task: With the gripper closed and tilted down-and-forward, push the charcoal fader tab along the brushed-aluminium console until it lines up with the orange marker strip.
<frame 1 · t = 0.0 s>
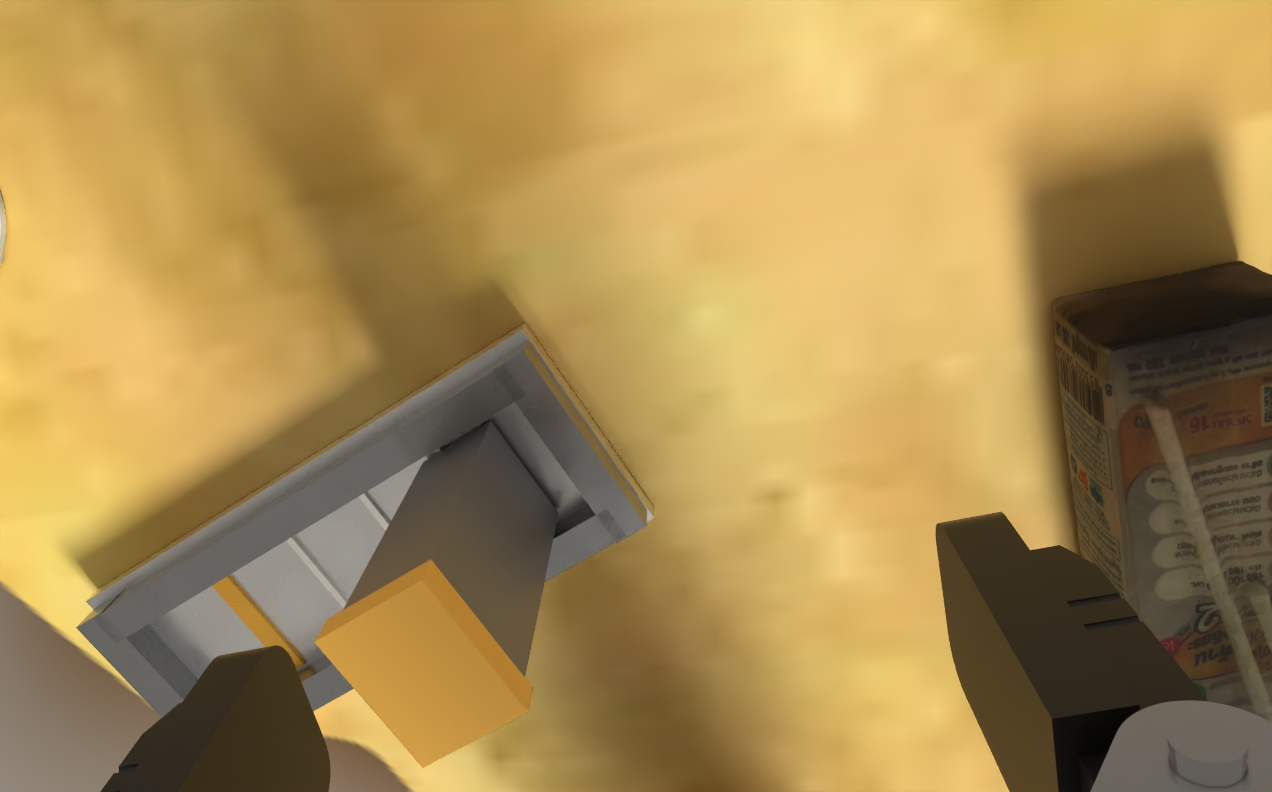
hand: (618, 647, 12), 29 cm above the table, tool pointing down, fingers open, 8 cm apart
fader tab: (462, 566, 36), point 8 cm above the table, slide at -7.0 cm
fader console: (369, 549, 45), on the table
beverage carton: (1155, 479, 44), on the table
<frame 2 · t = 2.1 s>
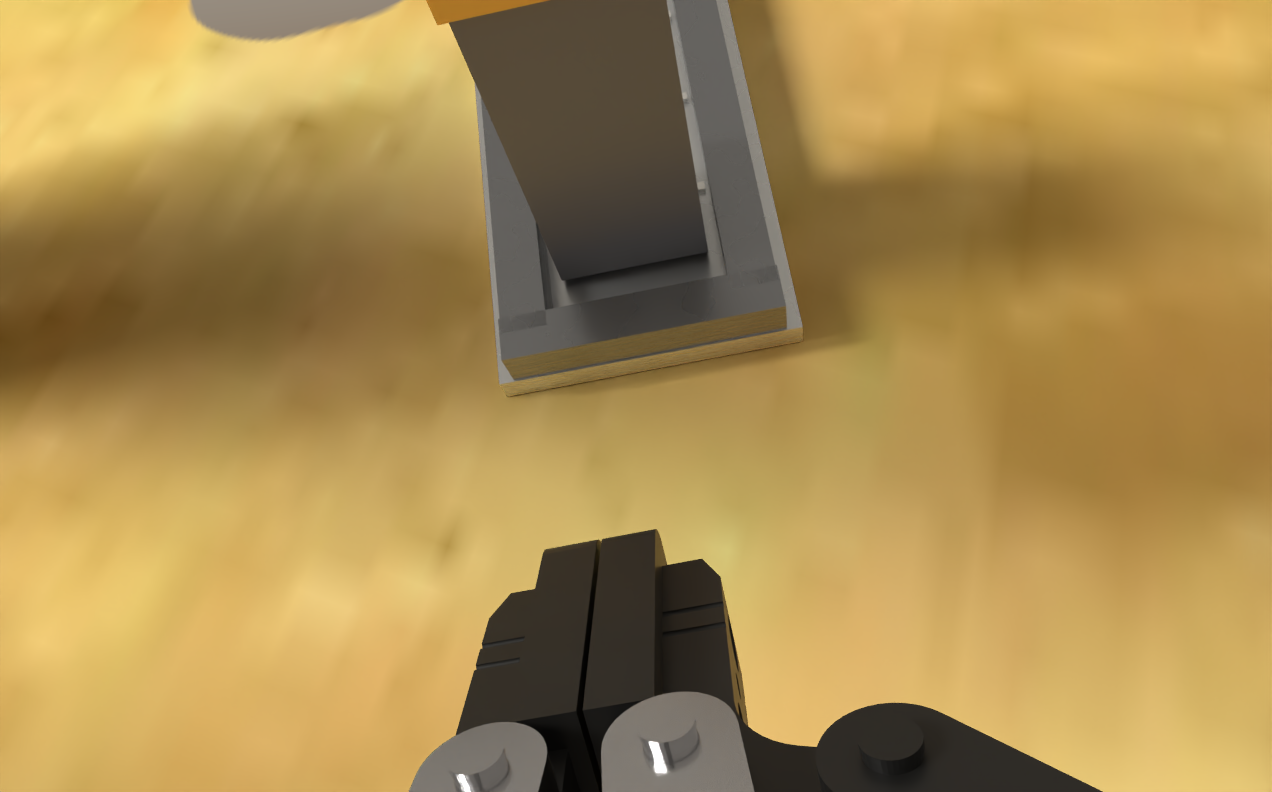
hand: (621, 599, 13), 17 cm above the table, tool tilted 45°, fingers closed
fader tab: (590, 92, 28), point 8 cm above the table, slide at -7.0 cm
fader console: (610, 91, 38), on the table
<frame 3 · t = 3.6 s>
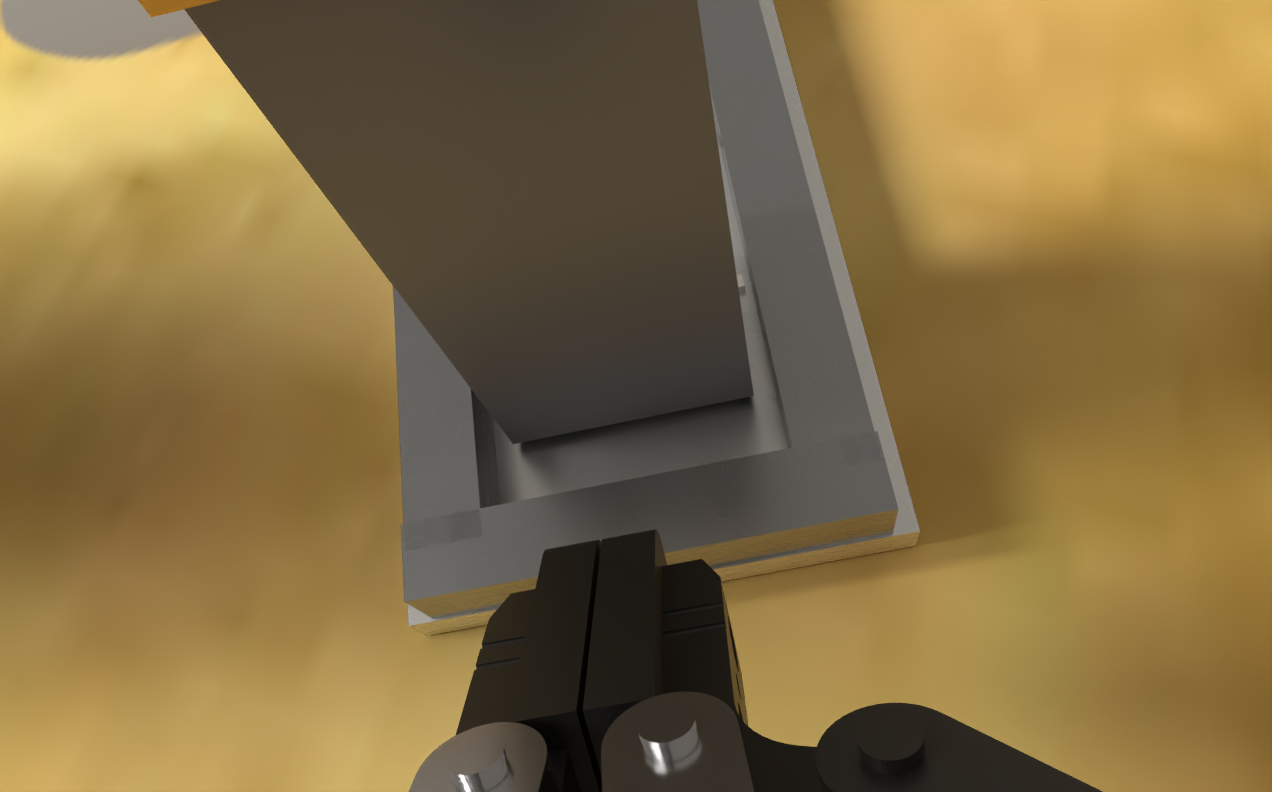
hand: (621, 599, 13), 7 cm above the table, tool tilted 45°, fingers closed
fader tab: (542, 146, 15), point 8 cm above the table, slide at -7.0 cm
fader console: (592, 126, 25), on the table
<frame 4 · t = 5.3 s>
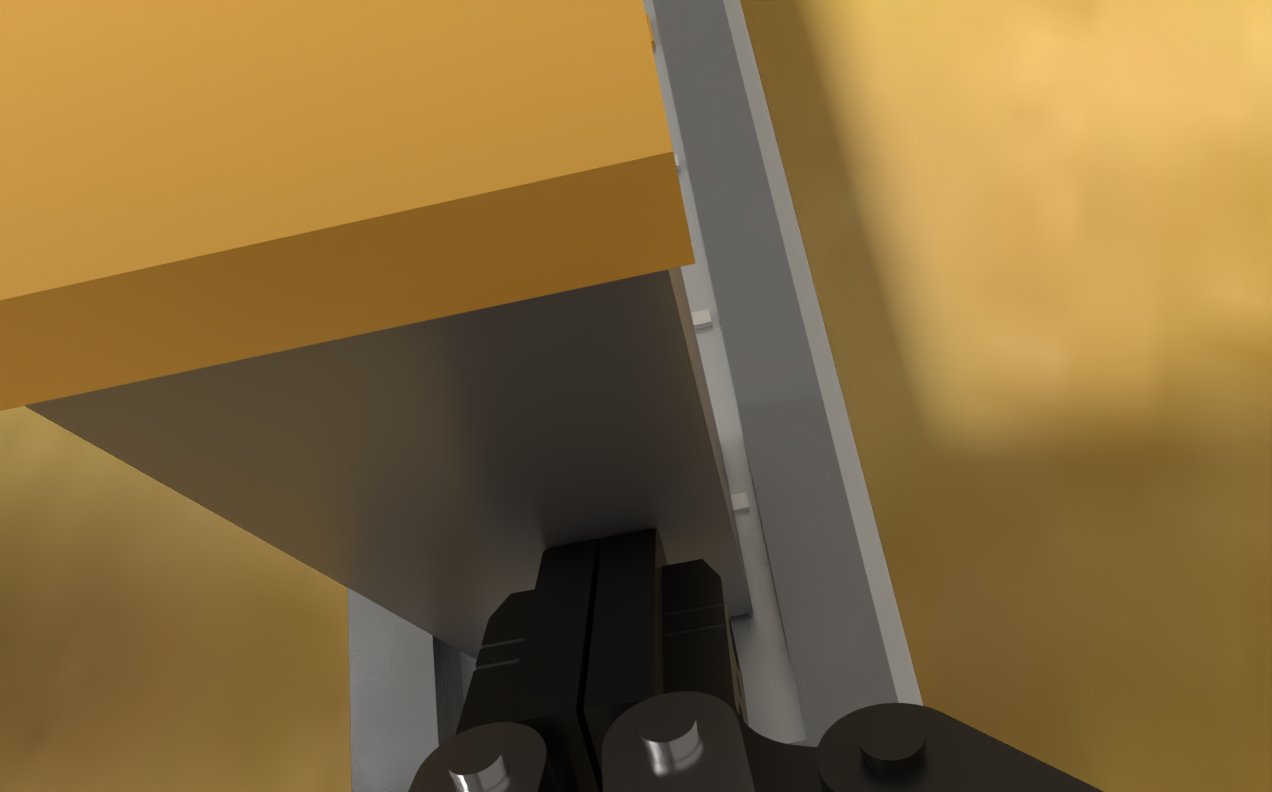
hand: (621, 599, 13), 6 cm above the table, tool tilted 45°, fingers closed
fader tab: (504, 400, 13), point 8 cm above the table, slide at -6.3 cm, touching gripper
fader console: (577, 290, 22), on the table
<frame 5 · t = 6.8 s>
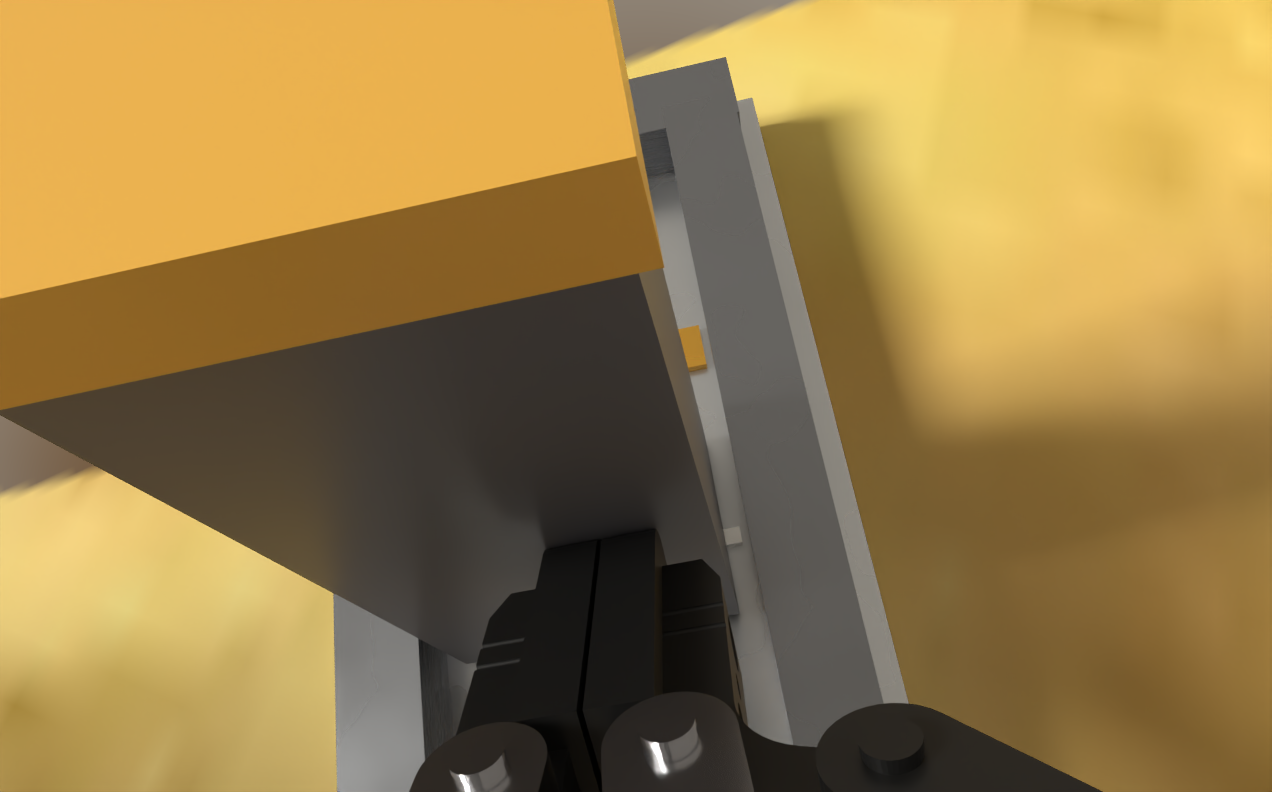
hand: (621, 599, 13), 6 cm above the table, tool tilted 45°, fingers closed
fader tab: (485, 403, 13), point 8 cm above the table, slide at 2.3 cm, touching gripper
fader console: (618, 681, 19), on the table
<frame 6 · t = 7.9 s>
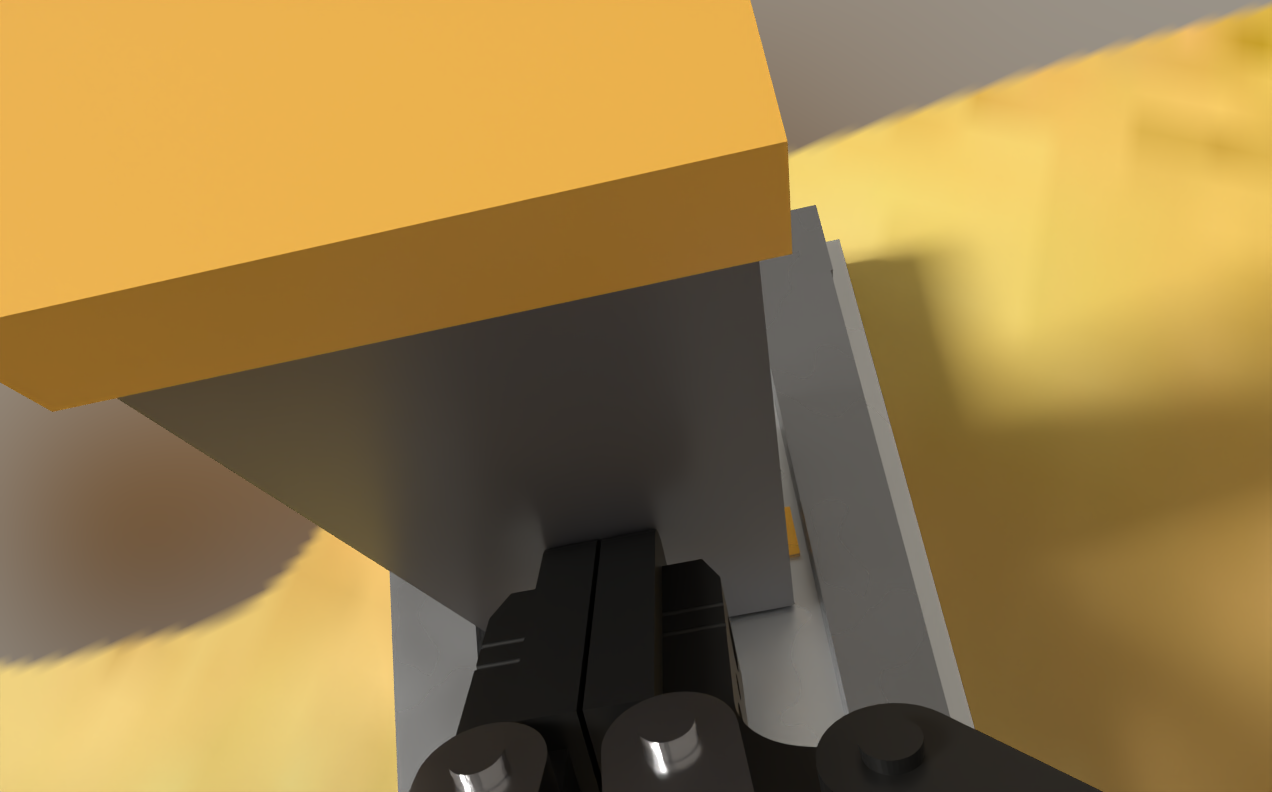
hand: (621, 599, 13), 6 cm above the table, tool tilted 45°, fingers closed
fader tab: (559, 393, 13), point 8 cm above the table, slide at 6.4 cm
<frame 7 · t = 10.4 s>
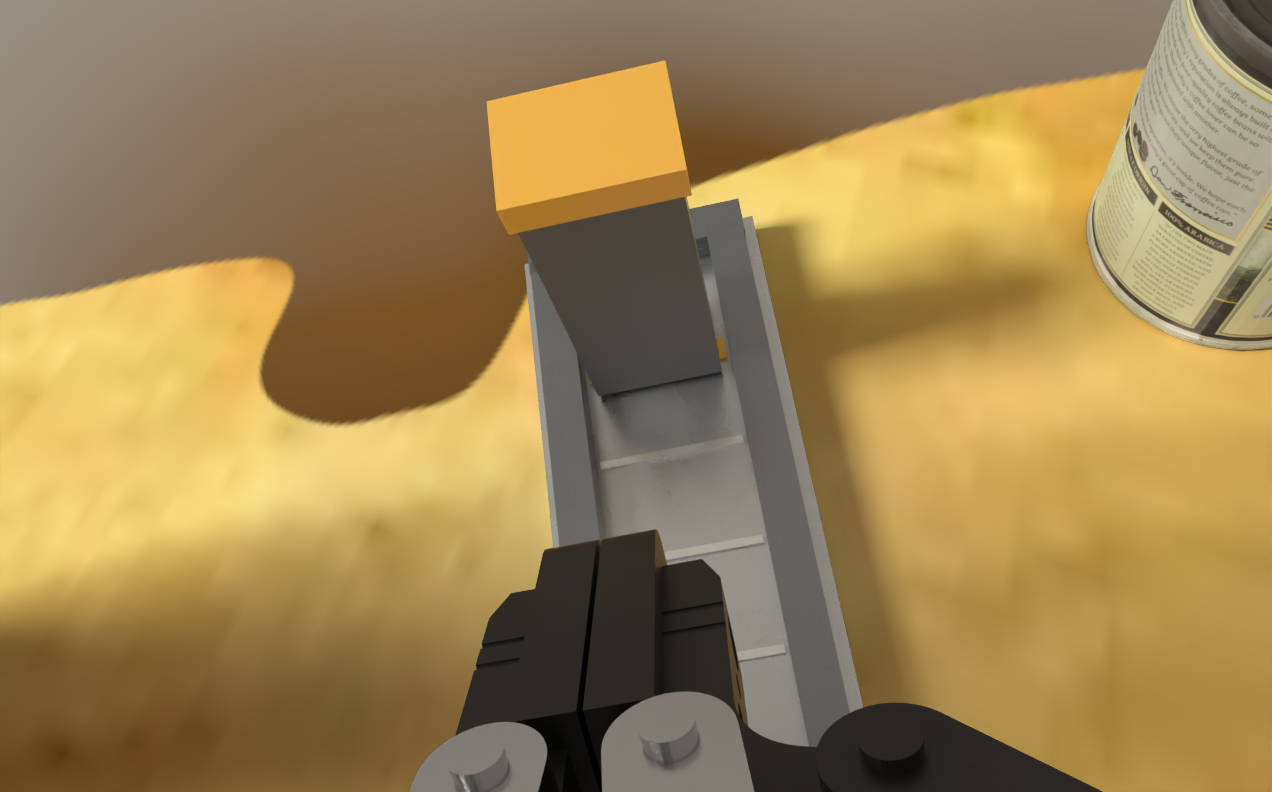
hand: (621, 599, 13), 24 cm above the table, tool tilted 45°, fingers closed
fader tab: (624, 257, 34), point 8 cm above the table, slide at 6.7 cm
fader console: (683, 510, 39), on the table
coffee can: (1219, 239, 40), on the table
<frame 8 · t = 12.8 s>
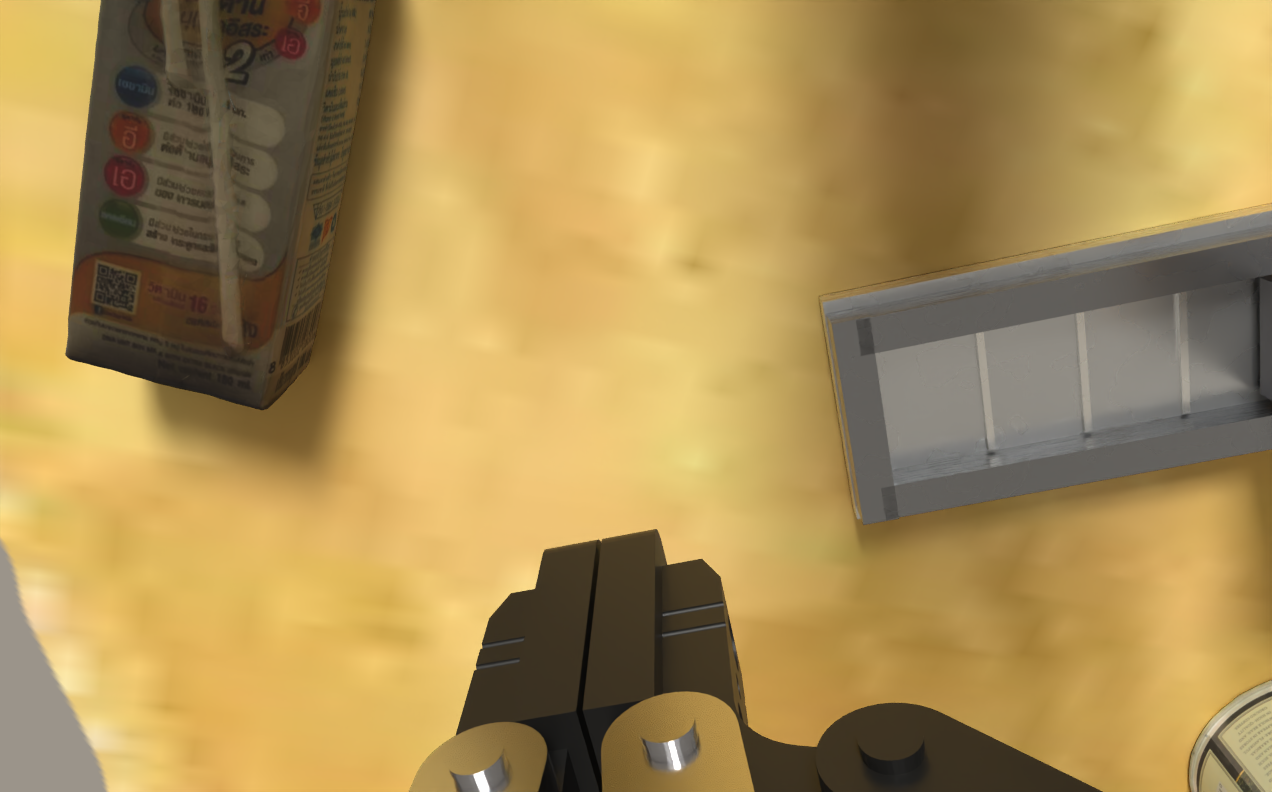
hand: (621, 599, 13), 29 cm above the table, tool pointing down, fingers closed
fader console: (1121, 351, 42), on the table
beverage carton: (262, 123, 40), on the table
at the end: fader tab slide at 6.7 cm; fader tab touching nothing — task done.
